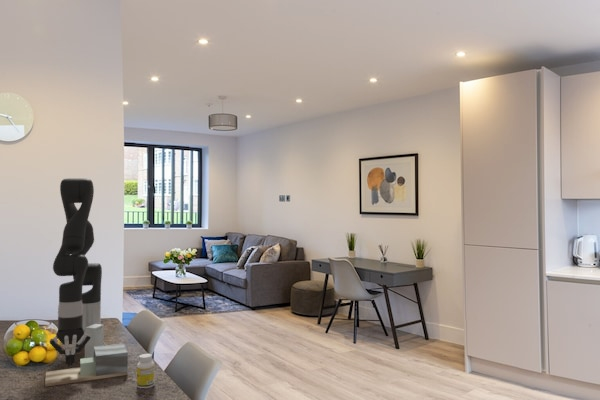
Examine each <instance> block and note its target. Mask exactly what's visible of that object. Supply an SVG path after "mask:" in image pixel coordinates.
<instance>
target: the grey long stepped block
mask: <svg viewBox="0 0 600 400" xmlns="http://www.w3.org/2000/svg"><path fill="white" fill-rule="evenodd" d="M128 355H129V352H128V349H127V347H126V345H125V343H124V342H122V343H113V344H104V345H103V346H94V357H96V374H89V375H81V376H80V366H79V367H72V368H71V367H70V368H65V369H64V368H63V369H57V370H49V371H45V379H44V388H46V387H53V386H59V385H66V384H72V383H73V384H74V383H80V382H81V383H82V382H87V381H93V380H94V381H95V380H102V379H106V378H107V379H108V378H115V377H122V376H128V375H129V374H128V370H129V369H128V368H129V367H128V366H129V362H128V360H129V358H128V357H129V356H128Z"/></svg>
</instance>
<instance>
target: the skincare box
mask: <svg viewBox="0 0 600 400" xmlns="http://www.w3.org/2000/svg"><path fill="white" fill-rule="evenodd" d="M85 334H87V335H90V340H89V341H88V342H87V344H86V345H85V346H84V358H91V357H94V346H103V345H105V344H104V341H105V339H104V338H105V324H102V323H101V324H94V325H90V326H88V327H86V328H85Z"/></svg>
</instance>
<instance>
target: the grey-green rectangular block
mask: <svg viewBox="0 0 600 400" xmlns="http://www.w3.org/2000/svg"><path fill="white" fill-rule="evenodd" d="M79 359H80V361H79V365H80V366H79V367H80V376H81V375H89V374H96V357H91V358H85V357H83V358H79Z"/></svg>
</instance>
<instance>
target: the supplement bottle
mask: <svg viewBox="0 0 600 400" xmlns="http://www.w3.org/2000/svg"><path fill="white" fill-rule="evenodd" d="M138 360H139V362H138V363H137V364H136V386H137V388H138V389H141V388H145V389H149V388H152V387H153V386H155V384H156V381H155V379H156V378H155V377H156V376H155V375H156V373H155V370H156V369H155V367H156V366H155V365H156V364H155V362H154V360H153V354H151V353H143V354H139V359H138Z"/></svg>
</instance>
